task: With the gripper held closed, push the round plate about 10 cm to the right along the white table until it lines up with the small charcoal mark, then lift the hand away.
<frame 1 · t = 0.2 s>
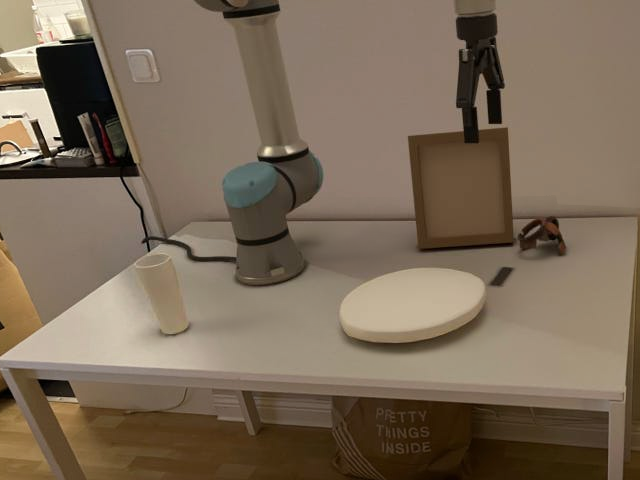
hand: (484, 133, 141), 28 cm above the table, tool pointing down, fingers open, 13 cm apart
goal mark: (501, 276, 149), on the table
plate: (414, 317, 138), on the table
brown curved piece: (544, 250, 159), on the table
photo frame: (467, 237, 169), on the table
drinking glass: (176, 329, 143), on the table
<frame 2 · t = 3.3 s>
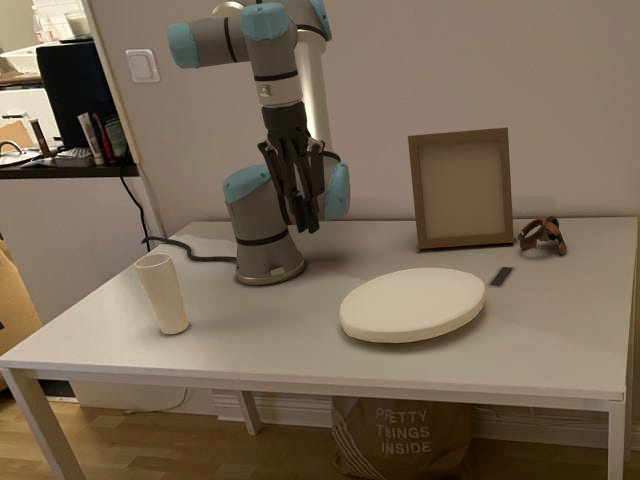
hand: (309, 230, 137), 16 cm above the table, tool pointing down, fingers closed
nothing on the table moved.
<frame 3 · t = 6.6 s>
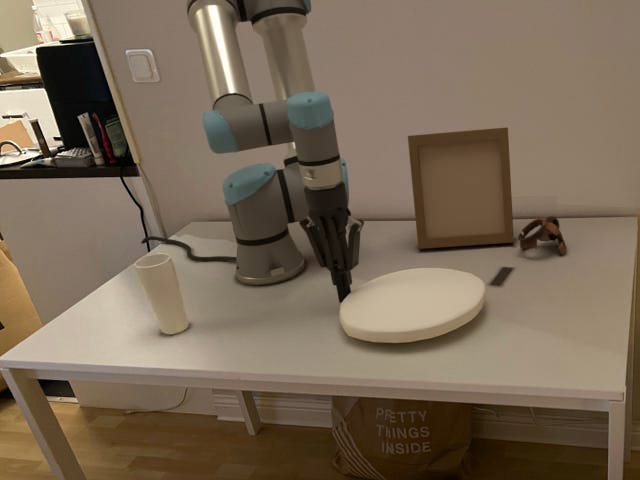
hand: (345, 299, 142), 2 cm above the table, tool pointing down, fingers closed
plate: (414, 317, 138), on the table, touching gripper
everything else where it was.
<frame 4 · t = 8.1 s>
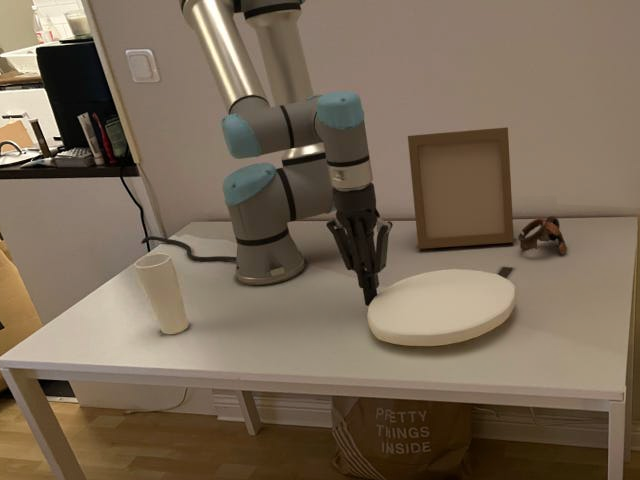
hand: (372, 302, 140), 2 cm above the table, tool pointing down, fingers closed
plate: (442, 320, 136), on the table, touching gripper
everything else where it was.
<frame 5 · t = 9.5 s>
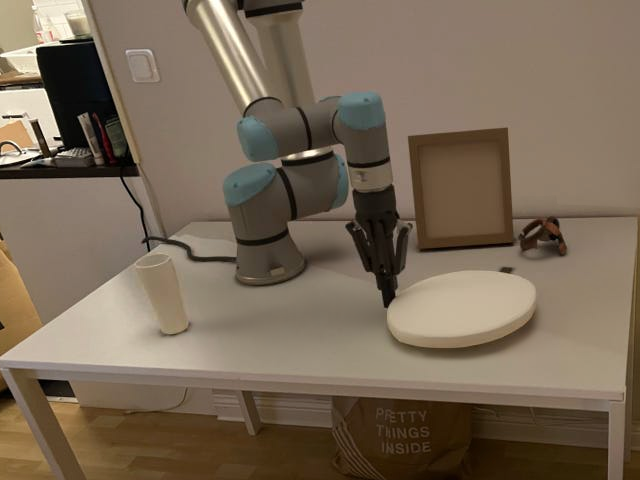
hand: (390, 305, 138), 2 cm above the table, tool pointing down, fingers closed
plate: (462, 321, 135), on the table, touching gripper
everything else where it was.
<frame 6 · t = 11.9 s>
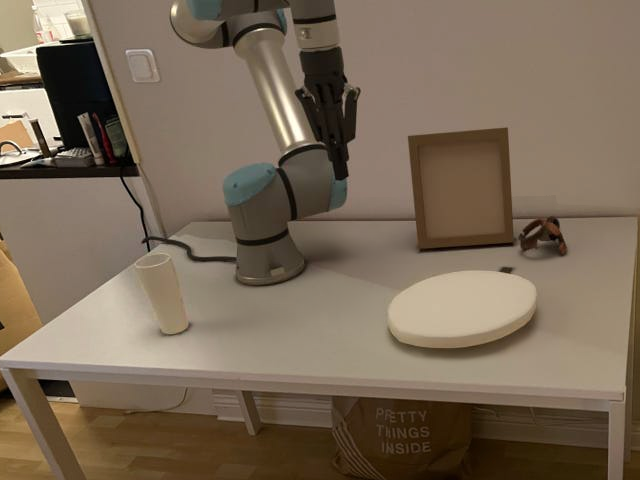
hand: (342, 178, 138), 24 cm above the table, tool pointing down, fingers closed
plate: (463, 321, 134), on the table
everything else where it was.
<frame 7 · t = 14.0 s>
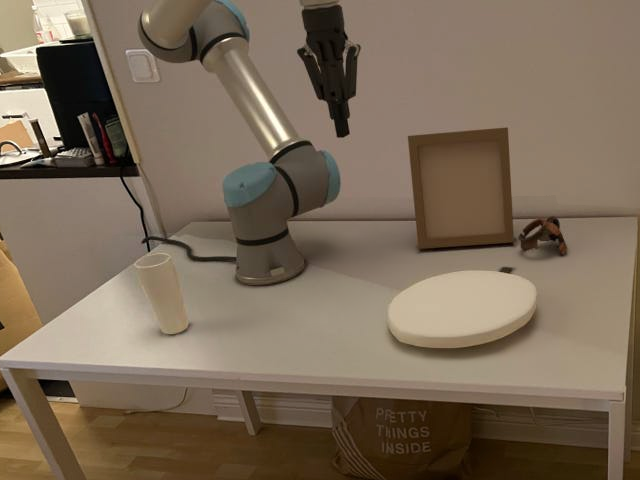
hand: (343, 135, 144), 29 cm above the table, tool pointing down, fingers closed
nothing on the table moved.
at the end: plate inside the target area (1.1 cm from its centre), on the table; plate moved 10.0 cm from its start; plate tilted 2° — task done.
